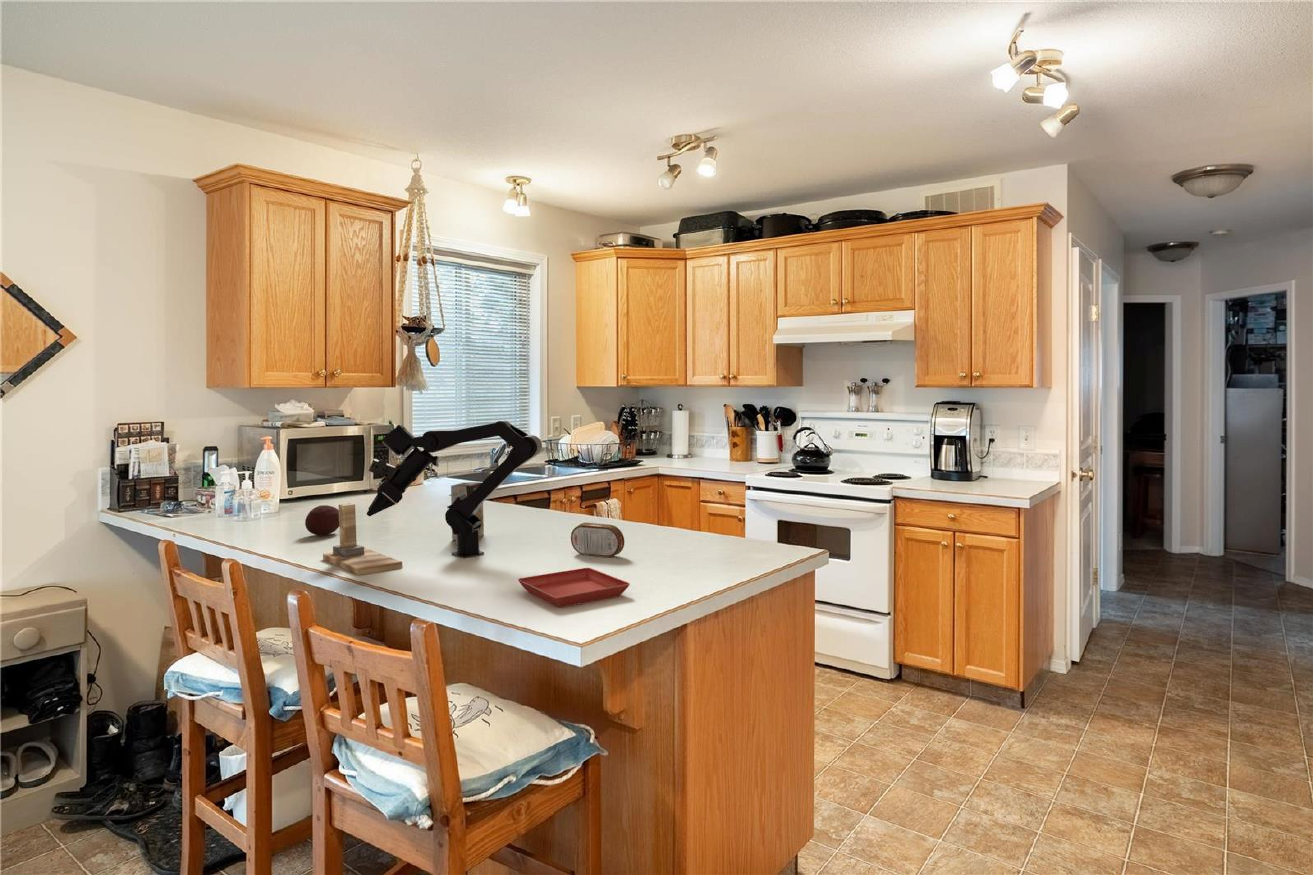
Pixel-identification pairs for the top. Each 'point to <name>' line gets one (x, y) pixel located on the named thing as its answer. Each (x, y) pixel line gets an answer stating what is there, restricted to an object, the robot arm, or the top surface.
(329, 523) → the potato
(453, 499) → the coffee box
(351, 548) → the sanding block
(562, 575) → the plant saucer
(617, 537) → the tin
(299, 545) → the top surface
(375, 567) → the board
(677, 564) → the top surface
